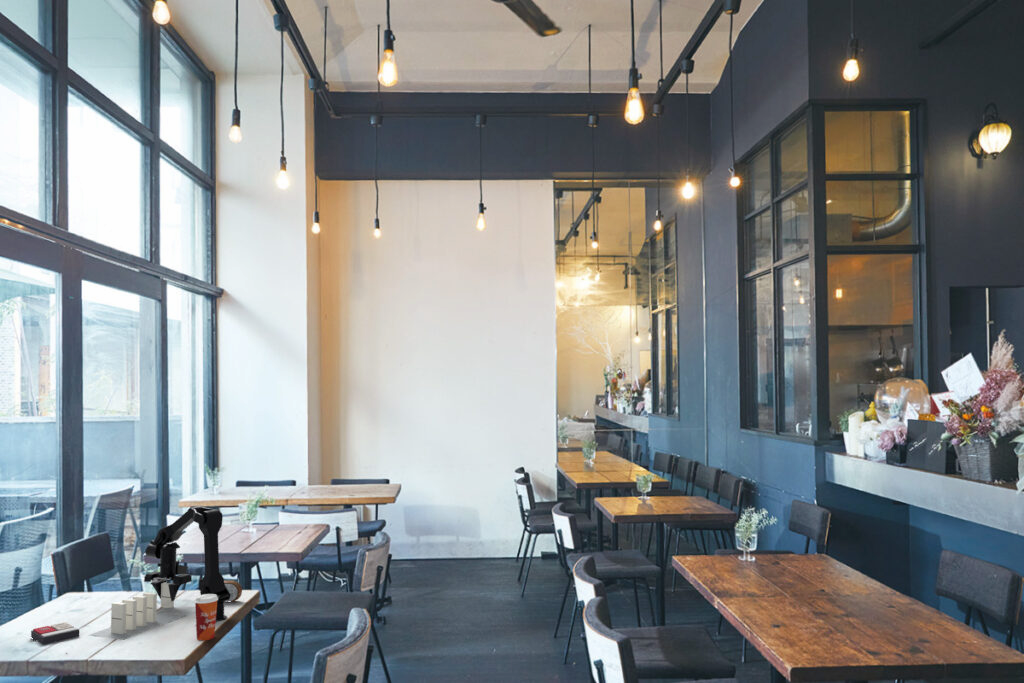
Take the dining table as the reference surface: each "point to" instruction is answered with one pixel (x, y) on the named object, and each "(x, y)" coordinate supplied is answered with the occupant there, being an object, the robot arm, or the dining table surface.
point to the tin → (233, 589)
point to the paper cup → (206, 616)
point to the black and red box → (54, 633)
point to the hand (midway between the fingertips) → (167, 600)
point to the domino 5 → (166, 596)
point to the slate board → (139, 627)
